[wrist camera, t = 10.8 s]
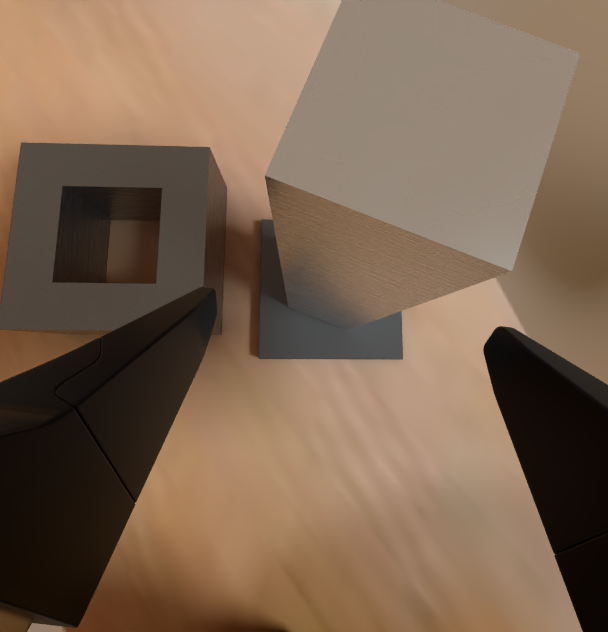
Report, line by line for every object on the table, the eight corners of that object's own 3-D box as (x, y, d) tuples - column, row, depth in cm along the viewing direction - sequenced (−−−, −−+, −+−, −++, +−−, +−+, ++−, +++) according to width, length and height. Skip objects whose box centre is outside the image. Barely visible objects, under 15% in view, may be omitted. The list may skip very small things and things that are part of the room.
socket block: (221, 334, 19) (201, 330, 15) (62, 333, 18) (-3, 329, 14) (226, 187, 20) (209, 147, 16) (77, 184, 19) (21, 142, 15)
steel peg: (347, 330, 18) (511, 271, 4) (288, 307, 18) (264, 175, 4) (368, 272, 19) (580, 52, 5) (311, 250, 19) (355, -32, 5)
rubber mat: (399, 359, 19) (402, 359, 18) (260, 358, 18) (258, 358, 18) (395, 225, 20) (398, 222, 19) (263, 223, 20) (262, 219, 19)
